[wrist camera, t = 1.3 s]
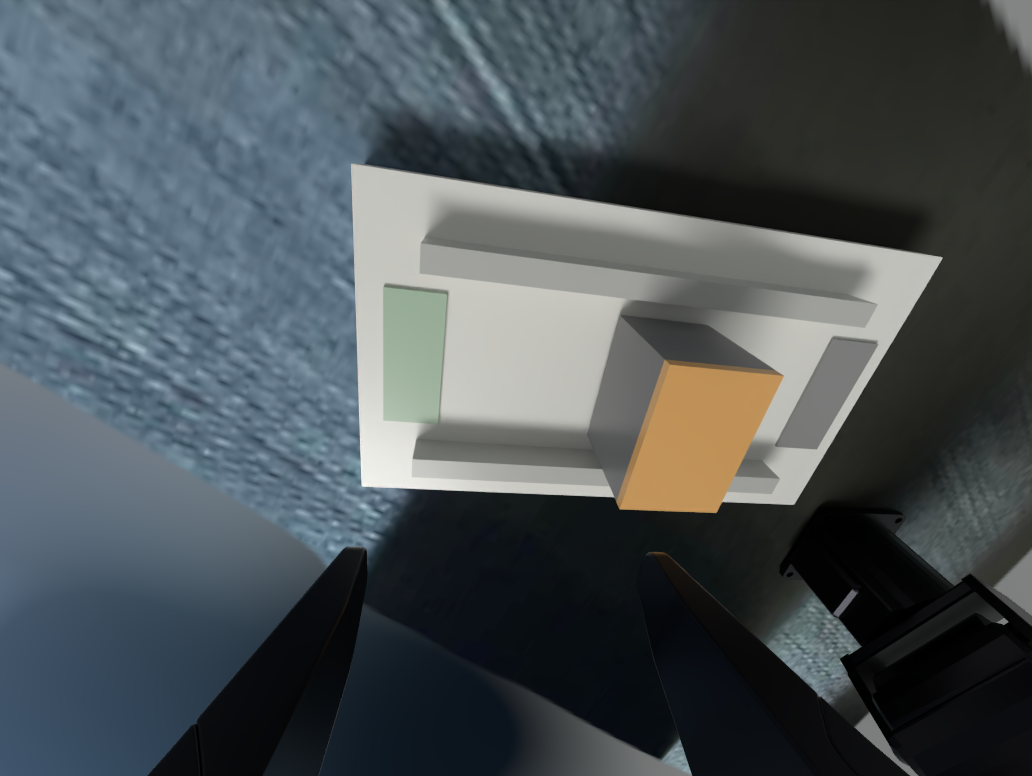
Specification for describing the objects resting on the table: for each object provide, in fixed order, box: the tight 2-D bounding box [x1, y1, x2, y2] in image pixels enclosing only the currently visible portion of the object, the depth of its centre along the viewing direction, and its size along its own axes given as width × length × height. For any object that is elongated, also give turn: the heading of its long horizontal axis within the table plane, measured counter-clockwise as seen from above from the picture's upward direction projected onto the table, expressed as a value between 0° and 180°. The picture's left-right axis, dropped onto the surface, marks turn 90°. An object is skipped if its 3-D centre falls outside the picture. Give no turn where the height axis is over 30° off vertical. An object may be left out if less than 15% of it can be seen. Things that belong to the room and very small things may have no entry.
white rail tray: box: [351, 164, 942, 505], centre depth 19 cm, size 24×14×4 cm, turn 82°
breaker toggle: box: [587, 315, 784, 513], centre depth 17 cm, size 4×6×5 cm, turn 172°
